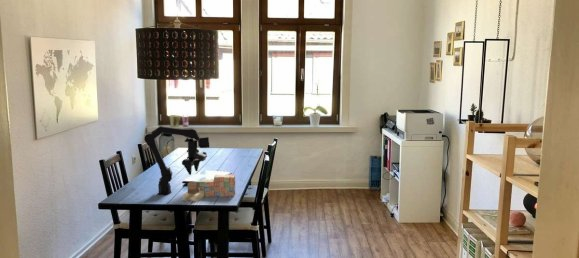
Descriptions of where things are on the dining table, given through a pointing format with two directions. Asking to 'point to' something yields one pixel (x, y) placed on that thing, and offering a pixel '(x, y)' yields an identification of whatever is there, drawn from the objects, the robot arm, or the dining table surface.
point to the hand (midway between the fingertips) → (193, 172)
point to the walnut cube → (193, 187)
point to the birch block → (193, 196)
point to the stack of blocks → (218, 186)
